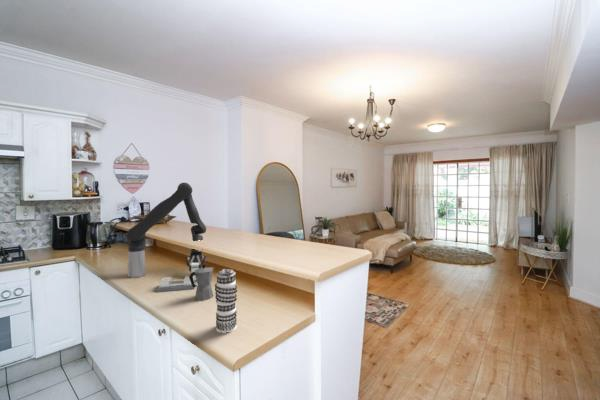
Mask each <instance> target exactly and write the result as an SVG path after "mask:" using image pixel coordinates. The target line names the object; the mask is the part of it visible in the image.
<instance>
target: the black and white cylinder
mask: <svg viewBox="0 0 600 400" xmlns="http://www.w3.org/2000/svg"><path fill="white" fill-rule="evenodd" d="M236 274H237V272H236V271H234V270H233V269H231V268H223V269H220V270H219V271H218V272H217V273H216V275H215V276H216V282H215V284H214V291H215V304H216V307H217V308H216V313H215V316H216V317H215V319H216V321H215V325H216V326H215V329H216V332H217V333H219V332H222V333H221V334H227V333H226V332H229V333H231V331H232V332H234V331H236V329H237V327H238V326H237V325H238V323H237V322H238V319H237V313H238V312H237V306H236V302H237V300H238V298H237V297H238V296H237V295H238V294H237V293H238V290H237V289H238V286H237V285H236V281H237V280H236ZM233 330H234V331H233Z"/></svg>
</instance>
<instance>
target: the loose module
mask: <svg viewBox="0 0 600 400" xmlns="http://www.w3.org/2000/svg"><path fill="white" fill-rule="evenodd" d="M198 268H199V262H194V263H192V264H191V272H190V274H191V273H192V272H195V270H197V269H198ZM194 277H195V279H196V275H194Z"/></svg>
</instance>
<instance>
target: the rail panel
mask: <svg viewBox="0 0 600 400" xmlns="http://www.w3.org/2000/svg"><path fill="white" fill-rule="evenodd" d="M189 276H190V275H185V277H184V279H183V280H174V281H173V278H172V276H167V277H162V278H161V280H159V285H158V287H157V288H156V293H163V292H164V293H165V292H174V291H186V290H187V291H188V290H195V288H196V287H193V286H192V284H191V281H190V278H189ZM193 281H194V285H197V281H196V278H195V277H194V276H193Z"/></svg>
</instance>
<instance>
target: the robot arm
mask: <svg viewBox="0 0 600 400" xmlns="http://www.w3.org/2000/svg"><path fill="white" fill-rule="evenodd" d="M192 193H193V187H192V185H190V184H189V183H188V182H181V183H179V184H178V186H177V189H176V190H175V192H173V193H172V195H171V196H169V197H167V198H165V199H164V200H162V201H160V202H159V203H158V204H157V205H155V206H154V208H152V209H151V210H150V211H149V212H148V214H146V216H145V217H144V218H142V219H141V220H140V221H139V222H138V223H137V224H135V225H133V227H131V228H130V229H128V231H127V233H126V238H127V239H128V240H129V244H128V245H129V246H128V263H127V275H128V276H127V277H128V278H132V279H133V278H140V277H145V275H146V252H145V250H146V249H145V247H146V233H147V232H148V231H149V230H150V229H151V228H153V227H154V226H155V225H157V224H159V223H160V222H161V221H162V220H164V219H165V218H166V217H167V216H168V215H169V214H170V213H171V212H173V210H174V209H175V208H176V207H178V205H180V203H181V202H183V203H184V206H185V209H186V213H187V216H188V220H189V221H190V222H189V223H191V224H194V225H193V226H191V228H190V232H191V235H192V236H191V237H192V240H193V241H201V240H204V237H203V235H202V234H206V232H207V227H206V225H205V223H204V222H203V220H202V219H201V216H200V213H199V211H198V209H197V206H196V203H195V201H194V198H193V195H192ZM189 254H190V255H189V256H185V264H186V266H187V267H188V271H189V272H190V273H191V264H192V263H197V262H199V268H202V267H203V266H202V265H206V264H205V263H206V261H207V258H208V257H207V255H203V251H202V252H201V251H198V250H195V249H191V248H190V253H189ZM189 260H190V262H189ZM201 260H202V262H201ZM199 268H198V269H199Z"/></svg>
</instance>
